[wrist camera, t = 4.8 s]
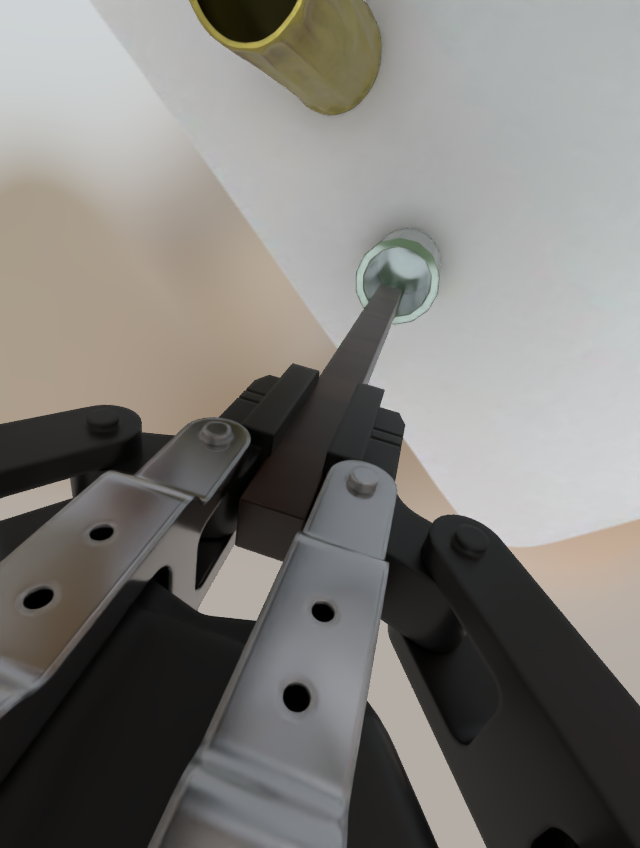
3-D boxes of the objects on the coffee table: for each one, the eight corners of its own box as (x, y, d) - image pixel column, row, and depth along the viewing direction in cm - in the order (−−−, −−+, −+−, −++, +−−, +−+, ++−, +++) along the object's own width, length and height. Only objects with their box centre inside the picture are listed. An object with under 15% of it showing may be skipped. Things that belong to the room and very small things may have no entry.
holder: (381, 220, 31) (365, 229, 26) (451, 237, 31) (452, 250, 25) (364, 289, 34) (347, 312, 28) (428, 306, 33) (424, 333, 27)
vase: (402, 34, 26) (362, -94, 14) (344, 136, 30) (272, 102, 17) (321, -34, 26) (208, -226, 14) (271, 77, 29) (144, 1, 17)
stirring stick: (380, 284, 23) (239, 497, 7) (402, 289, 22) (306, 518, 7) (374, 306, 23) (233, 546, 8) (396, 312, 23) (295, 567, 8)
